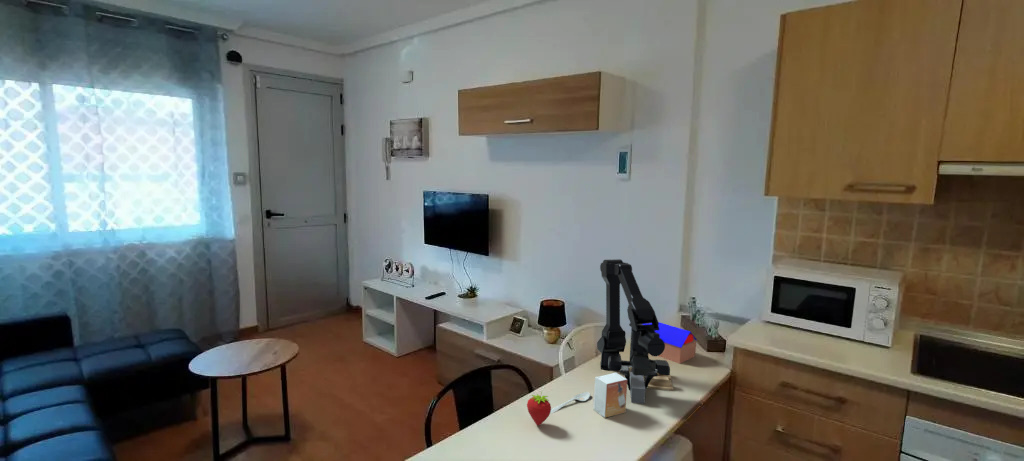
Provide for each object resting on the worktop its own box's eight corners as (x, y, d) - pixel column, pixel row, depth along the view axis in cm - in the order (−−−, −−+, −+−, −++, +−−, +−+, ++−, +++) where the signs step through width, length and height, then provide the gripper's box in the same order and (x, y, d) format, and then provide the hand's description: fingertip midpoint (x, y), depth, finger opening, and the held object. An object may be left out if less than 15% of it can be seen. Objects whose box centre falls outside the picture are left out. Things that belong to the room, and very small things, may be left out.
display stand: (647, 388, 159) (648, 378, 159) (643, 370, 173) (644, 361, 173) (672, 390, 158) (673, 380, 158) (666, 373, 172) (667, 363, 171)
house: (651, 342, 203) (653, 315, 201) (696, 357, 188) (698, 328, 186) (634, 348, 195) (636, 320, 194) (679, 364, 180) (682, 334, 178)
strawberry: (536, 416, 140) (537, 383, 139) (555, 426, 135) (556, 392, 133) (521, 422, 136) (522, 389, 135) (540, 434, 131) (541, 399, 129)
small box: (604, 418, 140) (606, 384, 138) (592, 409, 145) (594, 376, 143) (626, 412, 143) (628, 379, 142) (614, 404, 148) (615, 371, 147)
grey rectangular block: (631, 403, 150) (632, 387, 149) (629, 385, 161) (630, 371, 161) (644, 404, 149) (645, 389, 148) (641, 387, 161) (642, 372, 160)
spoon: (593, 399, 152) (594, 394, 152) (545, 419, 139) (546, 414, 139) (584, 394, 155) (584, 389, 155) (536, 413, 142) (536, 408, 142)
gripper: (610, 351, 147) (608, 399, 149) (674, 356, 144) (670, 405, 146) (609, 338, 158) (607, 383, 160) (668, 343, 155) (665, 389, 157)
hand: (636, 390), depth 155 cm, fingers open, 4 cm apart
